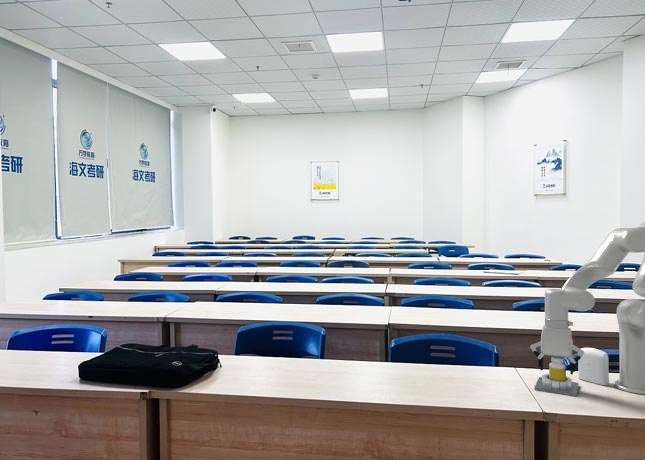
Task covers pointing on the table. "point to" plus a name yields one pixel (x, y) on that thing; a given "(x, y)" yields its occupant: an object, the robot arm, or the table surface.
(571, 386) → the ring collar block
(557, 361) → the supplement bottle
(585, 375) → the photo printer
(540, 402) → the table surface
